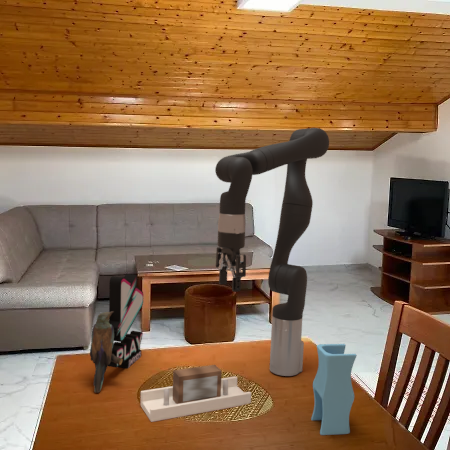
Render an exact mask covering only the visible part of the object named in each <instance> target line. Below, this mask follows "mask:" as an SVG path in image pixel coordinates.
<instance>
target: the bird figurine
mask: <svg viewBox="0 0 450 450" xmlns="http://www.w3.org/2000/svg"><path fill="white" fill-rule="evenodd" d="M112 313H114V311H111V312H109V311H105V312H101V313H99V314H98V315H97V318H96V322H95V324H94V325H93V327H92V331H91V341H90V343H91V344H90V348H89V357H90V361H92V363H93V364H94V366H95V371H94V378H93V387H94V393H100V392H101V391H102V387H103V383H104V380H105V378H104V377H105V374H106V371H107V369H108V367H109V366H108V365H109V364H110V363H111V361H112V362H114V363H117V364H119V365H121V364H122V361H123V359H122V358H119V357H117V356H115V355H114V354H112V348H113V344H114V342H115V341H114V328H113V326H112V325H111V324H110V323H109V319H110V316H111V315H112Z"/></svg>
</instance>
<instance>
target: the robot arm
mask: <svg viewBox="0 0 450 450" xmlns="http://www.w3.org/2000/svg"><path fill="white" fill-rule="evenodd" d="M329 147H330V138H329V135H328V133H327V132H326V131H325V130H324V129H322V128H320V127H319V128H318V127H311V128H310V127H309V128H308V127H307V128H299V129H296V130H294V131H293V132H292V134H291V135H290V137H289V141H283V142H278V143H273V144H268V145H264V146H261V147H258V148H255V149H252V150H250V151H246V152H243V153H242V152H241V153H235V154H231V155H226V156H223V157H222V158H220V159H219V160H218V161H217V163H216V166H215V175H216V177H217V178H218V180H220V181H222V182H224V183H230V186H229V187H228V190H226V191H224V192H222V193H221V194H220V198H219V215H218V216H219V217H218V221H217V247H216V254H215V255H216V256H215V268H217V271H218V272H219V273H218V274H219V275H218V284H219V285H223V286H224V285H226V284H227V283H228V269H229V271H230V272H231V275H232V281H231V283H232V285H231V290H232V292H235V293H236V292H237V293H238V292H240V291H241V286H242V283H241V281H242V278H246V276H247V275H246V273H247V271H246V270H247V255H246V254H241V249H243V248H244V247H245V246H246V245H245V244H246V200H247V196H248V193H249V189H250V186H251V183H252V179H253V176H257V175H262V174H264V173H266V172H269V171H272V170H275V169H278V168H280V167H283V166H285V165H286V178H285V184H284V186H285V187H284V192H283V198H282V203H281V209H280V216H279V223H278V224H279V225H278V231H277V237H276V242H275V247H274V250H273V255H272V258H271V263H270V267H269V272H268V279H267V281H268V282H267V284H268V288H269V289H270V291H271V292H273V293H275V294H277V293H278V294H282V295H286V296H287V301H286V302H282V303H278V304H275V305H273V307H272V309H271V310H272V315H271V335H270V352H269V353H270V355H269V358H270V359H269V371H270V372H271V373H273V374H275V375H277V376H283V377H284V376H285V377H292V376H296V375H298V374H300V373H302V372H303V366H304V364H303V362H304V348H305V347H304V346H305V344H304V341H303V340H302V330H303V314H304V310H305V306H306V297H307V296H306V295H307V286H308V274H307V271H306V269H305V267H303V266H300V265H295V264H289V260H290V259H289V258H290V255H291V252H292V249H293V248H294V246H295V244H296V243H297V241H299V239H300V238H301V237H302V236H303V234H304V233H305V232H306V230H307V229H308V227H309V226H310V223H311V218H312V213H313V211H312V210H313V205H314V204H313V203H314V202H313V201H314V200H313V197H312V194H311V191H310V187H309V184H308V181H307V179H306V170H307V169H306V168H307V167H306V166H307V162H308V159H312V160H313V159H318V158H321V157H323V156H324V155H325V154H326V153H327V151H328V150H329Z"/></svg>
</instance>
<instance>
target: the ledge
mask: <svg viewBox="0 0 450 450" xmlns="http://www.w3.org/2000/svg"><path fill="white" fill-rule="evenodd" d="M251 403H252V392H251V391H243V390H242V389H241V388H240V387H239V386H238V377H237V376H229V377H223V378H222V377H221V397H216V398H210V399H204V400H198V401H192V402H186V403H180V404H176V403H175V402H174V400H173V385H172V386H170V385H169V386H166V387H165V386H164V387H158V388H152V389H151V388H150V389H145V390H141V391H140V407H141V408H142V410H143V411H144V413H145V415H146V417H147V418H148V420H149V421H150V423H151V422H152V423H153V422H159V421H164V420H169V419H175V418H180V417H185V416H192V415H195V414H201V413H207V412H213V411H218V410H223V409H229V408H235V407H240V406H245V405H247V404H251Z"/></svg>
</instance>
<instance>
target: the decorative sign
mask: <svg viewBox="0 0 450 450" xmlns="http://www.w3.org/2000/svg"><path fill="white" fill-rule="evenodd" d="M137 283H138V274H133V273H132V274H131V273H125V275H124V276H116V275H115V276H114V275H112V276H111V277H110V279H109V290H108V291H109V294H108V295H109V301H108V302H109V305H108V307H109V309H108V310H109V311H108V312H111V311H114V313H112V315H111V316H110V319H109V323H110V324H111V325H112V326H113V328H114V342H113V348H112V354H114V355H115V356H117V357H119V358H122V359H123V361H122V364H121V365H119V364H117V363H114V362H112V361H111V363H110V364H109V365H108V366H107V367H108V368H109V367H111V368H115V369H116V368H119V369H129V368H130V367H132V365H134V363H136V362H137V361H139V359H140V358H142V350H141V343H142V339H143V331H137V330H131V331H130V329H131V327H132V326H133V324H134V321H135V320H136V318H137V316H138V314H139V312H140V311H141V309H142V307H143V305H144V292H143V290H141V289H140V288H139V287H138V285H137ZM129 331H130V333H129Z"/></svg>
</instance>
